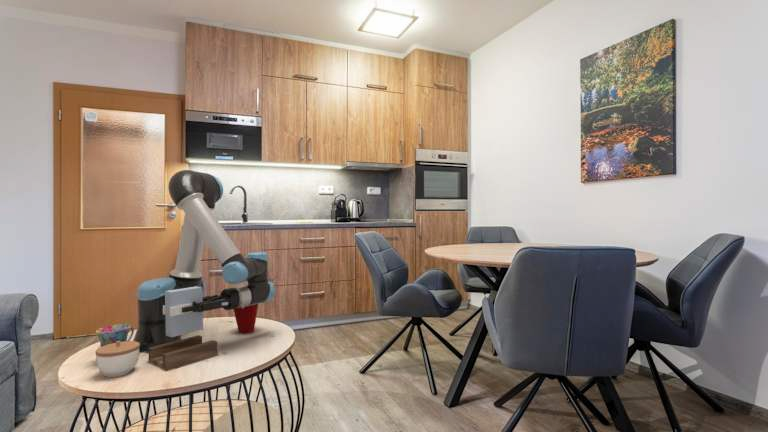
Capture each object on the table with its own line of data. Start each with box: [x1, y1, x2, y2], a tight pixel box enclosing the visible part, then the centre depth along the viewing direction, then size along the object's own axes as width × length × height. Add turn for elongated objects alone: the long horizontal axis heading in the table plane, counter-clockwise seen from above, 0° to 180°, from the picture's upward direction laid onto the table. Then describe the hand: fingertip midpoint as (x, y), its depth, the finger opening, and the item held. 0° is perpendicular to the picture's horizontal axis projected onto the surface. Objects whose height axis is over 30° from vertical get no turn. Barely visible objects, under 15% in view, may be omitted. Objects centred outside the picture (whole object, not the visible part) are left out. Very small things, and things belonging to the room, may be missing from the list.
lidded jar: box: [95, 340, 140, 378], centre depth 112 cm, size 11×11×9 cm
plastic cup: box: [232, 303, 259, 335], centre depth 152 cm, size 11×11×12 cm
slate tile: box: [165, 286, 204, 337], centre depth 123 cm, size 4×10×14 cm, turn 143°
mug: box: [95, 323, 135, 347], centre depth 123 cm, size 12×9×11 cm
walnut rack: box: [147, 334, 219, 372], centre depth 123 cm, size 13×16×4 cm
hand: (166, 311), depth 119 cm, fingers closed on slate tile, 4 cm apart
